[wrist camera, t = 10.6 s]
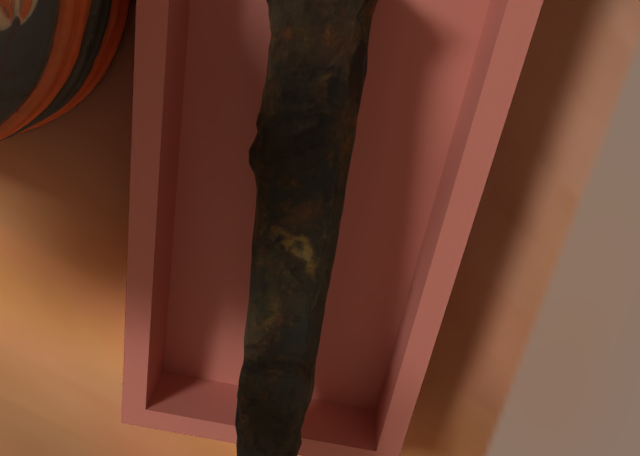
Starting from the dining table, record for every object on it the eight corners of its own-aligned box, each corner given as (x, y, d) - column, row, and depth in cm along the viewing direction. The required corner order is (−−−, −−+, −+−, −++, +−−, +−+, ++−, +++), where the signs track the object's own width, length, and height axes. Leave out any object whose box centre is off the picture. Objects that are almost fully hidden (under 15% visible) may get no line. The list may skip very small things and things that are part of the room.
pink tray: (187, -315, 18) (149, -371, 15) (584, -237, 18) (630, -276, 15) (148, 370, 29) (121, 422, 26) (391, 415, 29) (394, 472, 26)
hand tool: (273, -46, 20) (250, -69, 15) (392, -24, 20) (402, -41, 15) (209, 429, 26) (178, 510, 21) (300, 446, 26) (289, 531, 21)
